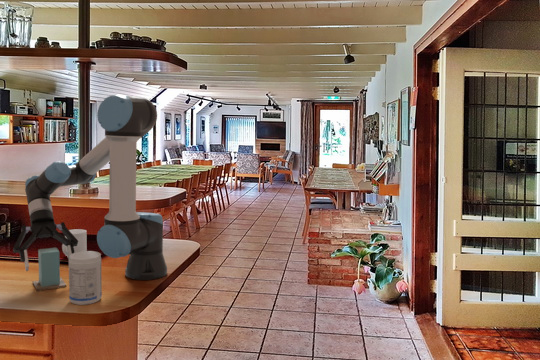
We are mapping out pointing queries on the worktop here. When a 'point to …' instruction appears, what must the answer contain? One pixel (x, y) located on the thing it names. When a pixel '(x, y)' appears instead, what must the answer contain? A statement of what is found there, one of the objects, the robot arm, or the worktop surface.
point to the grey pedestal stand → (39, 287)
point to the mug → (82, 241)
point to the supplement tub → (85, 277)
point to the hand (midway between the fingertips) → (50, 266)
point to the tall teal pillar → (49, 266)
